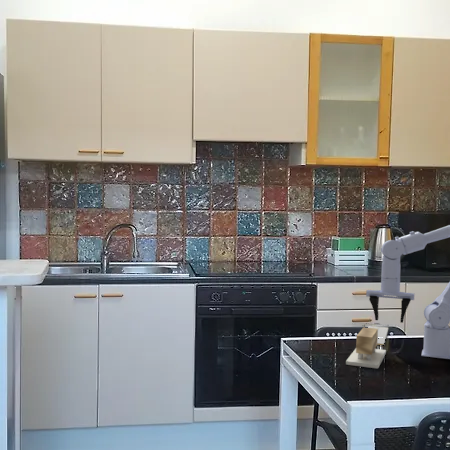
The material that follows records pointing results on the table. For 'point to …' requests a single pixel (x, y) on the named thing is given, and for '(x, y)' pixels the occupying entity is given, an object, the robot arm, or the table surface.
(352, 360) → the peg rack
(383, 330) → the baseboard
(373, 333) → the tan block
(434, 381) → the table surface
